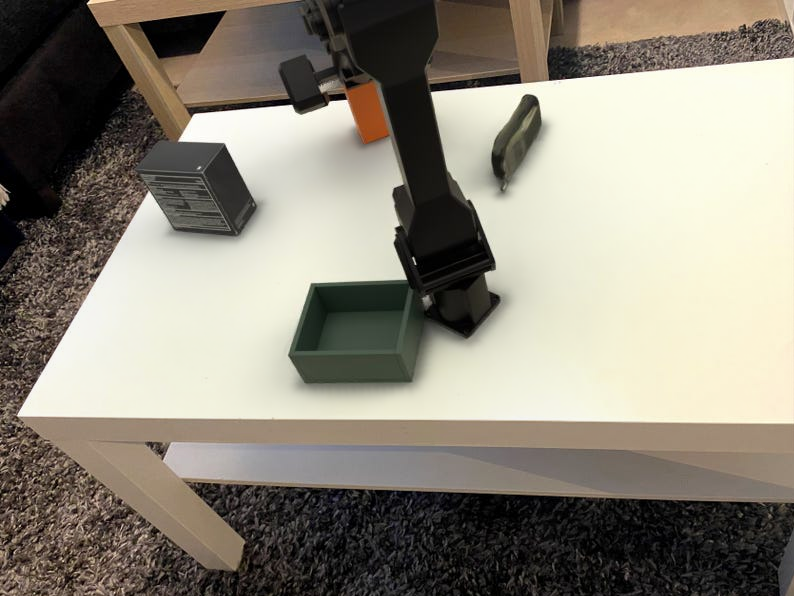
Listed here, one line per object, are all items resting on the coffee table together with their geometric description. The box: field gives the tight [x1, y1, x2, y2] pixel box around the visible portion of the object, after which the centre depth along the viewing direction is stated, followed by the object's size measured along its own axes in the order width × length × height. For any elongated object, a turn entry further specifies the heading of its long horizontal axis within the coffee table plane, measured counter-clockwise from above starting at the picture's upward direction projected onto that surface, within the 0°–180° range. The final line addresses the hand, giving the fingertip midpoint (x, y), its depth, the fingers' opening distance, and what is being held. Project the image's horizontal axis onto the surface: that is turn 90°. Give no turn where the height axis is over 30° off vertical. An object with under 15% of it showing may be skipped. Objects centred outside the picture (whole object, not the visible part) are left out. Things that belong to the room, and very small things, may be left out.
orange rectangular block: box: [342, 82, 390, 145], centre depth 101 cm, size 4×4×14 cm
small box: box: [134, 140, 258, 236], centre depth 96 cm, size 11×6×10 cm, turn 74°
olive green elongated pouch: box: [490, 93, 543, 192], centre depth 96 cm, size 5×3×15 cm
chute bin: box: [287, 279, 427, 384], centre depth 80 cm, size 12×10×5 cm
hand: (358, 84), depth 100 cm, fingers open, 9 cm apart
